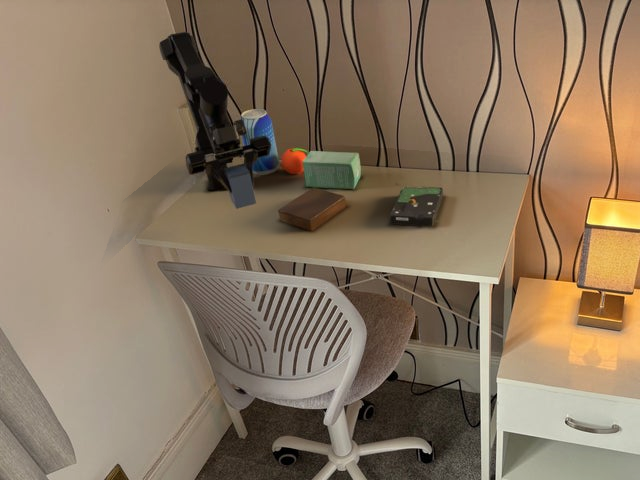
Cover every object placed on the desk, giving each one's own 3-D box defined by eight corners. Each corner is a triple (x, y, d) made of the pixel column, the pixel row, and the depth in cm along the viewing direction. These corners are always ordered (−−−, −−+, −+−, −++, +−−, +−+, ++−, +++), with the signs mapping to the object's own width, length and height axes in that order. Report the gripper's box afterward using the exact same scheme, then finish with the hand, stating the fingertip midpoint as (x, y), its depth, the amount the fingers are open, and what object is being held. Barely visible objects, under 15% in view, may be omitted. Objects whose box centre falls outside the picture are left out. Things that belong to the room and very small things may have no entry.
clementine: (312, 165, 173) (309, 141, 169) (313, 176, 168) (309, 151, 163) (283, 169, 173) (279, 144, 168) (283, 179, 167) (279, 155, 163)
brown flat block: (279, 220, 150) (277, 209, 148) (315, 197, 158) (313, 187, 156) (311, 231, 145) (309, 220, 143) (346, 207, 153) (345, 196, 151)
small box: (231, 200, 143) (223, 168, 138) (250, 195, 145) (243, 163, 140) (236, 208, 140) (228, 176, 135) (256, 203, 141) (249, 171, 136)
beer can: (270, 177, 169) (259, 120, 159) (244, 174, 171) (231, 118, 162) (285, 164, 175) (275, 108, 165) (259, 161, 177) (248, 106, 168)
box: (355, 190, 160) (352, 163, 156) (305, 188, 163) (301, 161, 158) (362, 177, 166) (359, 150, 161) (313, 176, 168) (309, 150, 164)
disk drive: (434, 228, 143) (443, 196, 154) (433, 217, 141) (443, 186, 153) (390, 225, 145) (402, 195, 156) (389, 215, 143) (401, 185, 155)
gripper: (174, 118, 129) (199, 187, 128) (260, 100, 136) (285, 165, 134) (177, 141, 140) (200, 205, 139) (257, 123, 146) (280, 184, 145)
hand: (241, 189), depth 139 cm, fingers closed on small box, 4 cm apart
